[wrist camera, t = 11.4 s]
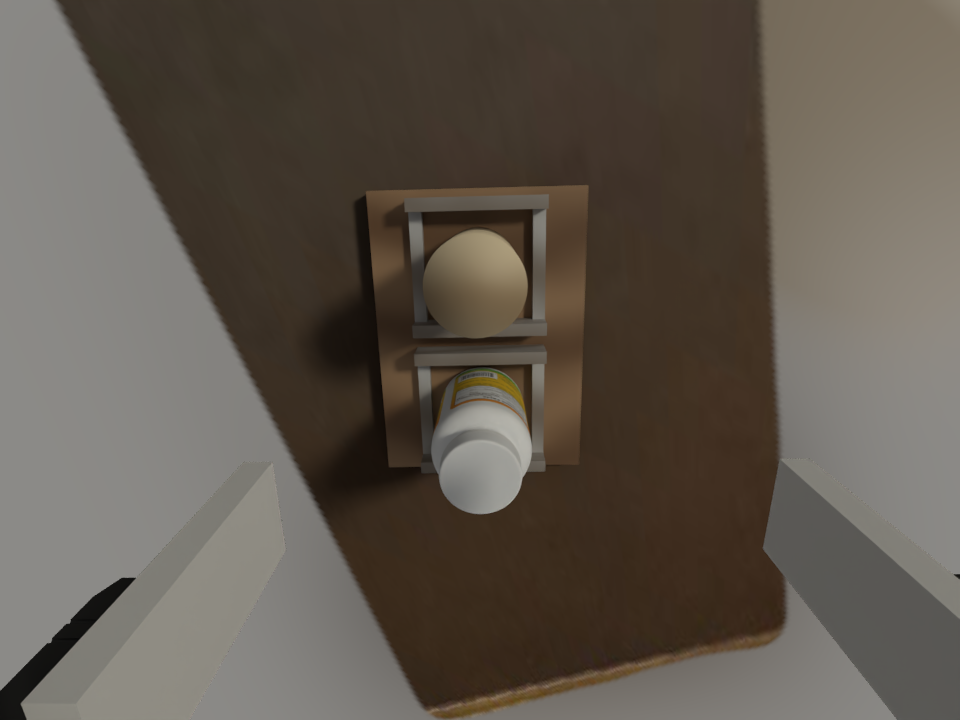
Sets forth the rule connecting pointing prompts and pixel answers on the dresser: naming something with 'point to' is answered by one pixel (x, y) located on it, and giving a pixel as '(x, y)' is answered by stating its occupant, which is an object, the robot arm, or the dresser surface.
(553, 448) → the board
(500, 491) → the supplement bottle
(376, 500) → the dresser surface
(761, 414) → the dresser surface
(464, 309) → the beech dowel
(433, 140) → the dresser surface
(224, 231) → the dresser surface
